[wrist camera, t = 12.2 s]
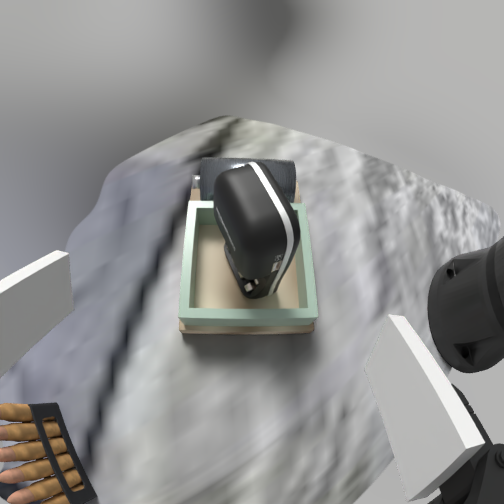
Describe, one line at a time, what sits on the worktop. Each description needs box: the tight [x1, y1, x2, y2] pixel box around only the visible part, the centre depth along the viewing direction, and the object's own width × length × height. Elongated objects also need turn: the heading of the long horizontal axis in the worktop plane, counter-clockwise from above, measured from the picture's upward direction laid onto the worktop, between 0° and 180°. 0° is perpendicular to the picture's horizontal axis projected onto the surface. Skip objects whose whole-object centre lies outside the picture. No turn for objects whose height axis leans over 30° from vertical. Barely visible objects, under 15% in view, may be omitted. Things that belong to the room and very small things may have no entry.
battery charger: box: [213, 162, 301, 299], centre depth 22 cm, size 7×4×11 cm, turn 23°
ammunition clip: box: [0, 403, 97, 504], centre depth 13 cm, size 11×2×12 cm, turn 24°
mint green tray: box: [178, 158, 318, 335], centre depth 27 cm, size 12×17×6 cm
